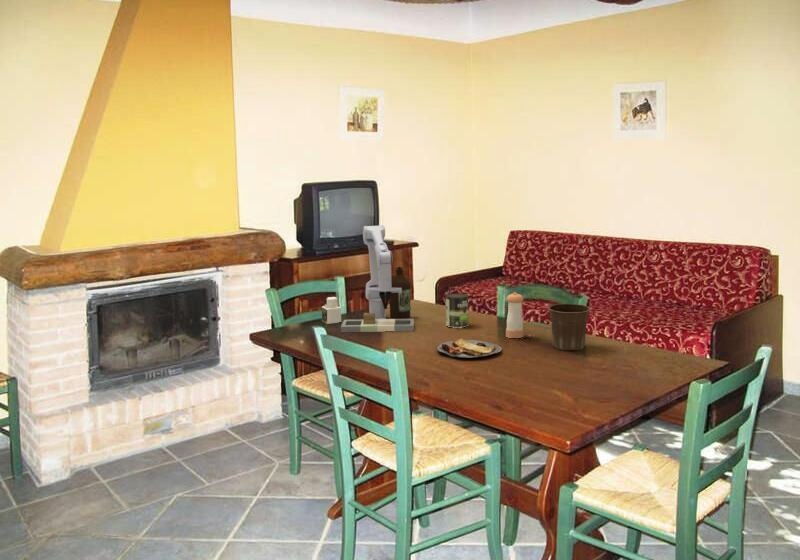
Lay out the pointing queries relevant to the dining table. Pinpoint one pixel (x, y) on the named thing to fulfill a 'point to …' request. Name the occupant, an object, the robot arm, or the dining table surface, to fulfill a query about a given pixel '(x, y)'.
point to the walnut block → (369, 318)
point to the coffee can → (457, 310)
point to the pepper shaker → (514, 316)
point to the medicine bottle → (331, 310)
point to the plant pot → (568, 325)
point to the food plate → (468, 348)
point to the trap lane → (378, 325)
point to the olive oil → (400, 296)
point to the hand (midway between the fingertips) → (385, 308)
